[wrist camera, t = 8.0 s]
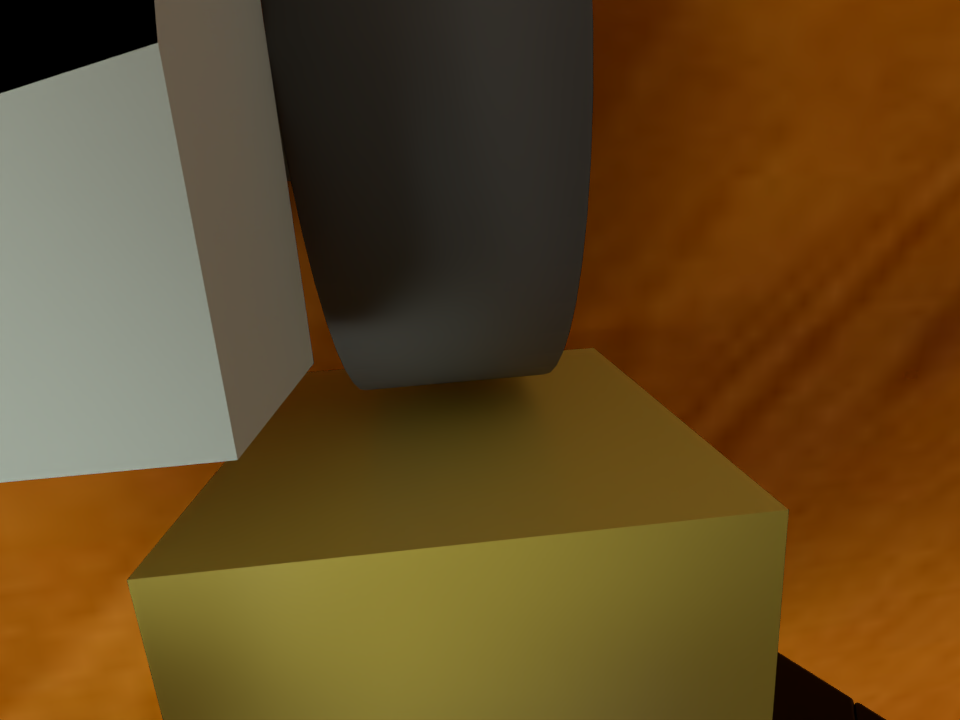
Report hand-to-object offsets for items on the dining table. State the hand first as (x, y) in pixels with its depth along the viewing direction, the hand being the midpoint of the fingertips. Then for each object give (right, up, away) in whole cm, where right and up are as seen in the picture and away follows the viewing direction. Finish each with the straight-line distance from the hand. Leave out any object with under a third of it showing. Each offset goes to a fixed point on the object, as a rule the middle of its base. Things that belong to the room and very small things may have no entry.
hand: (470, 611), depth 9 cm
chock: (0, 0, +1) cm, 1 cm away
